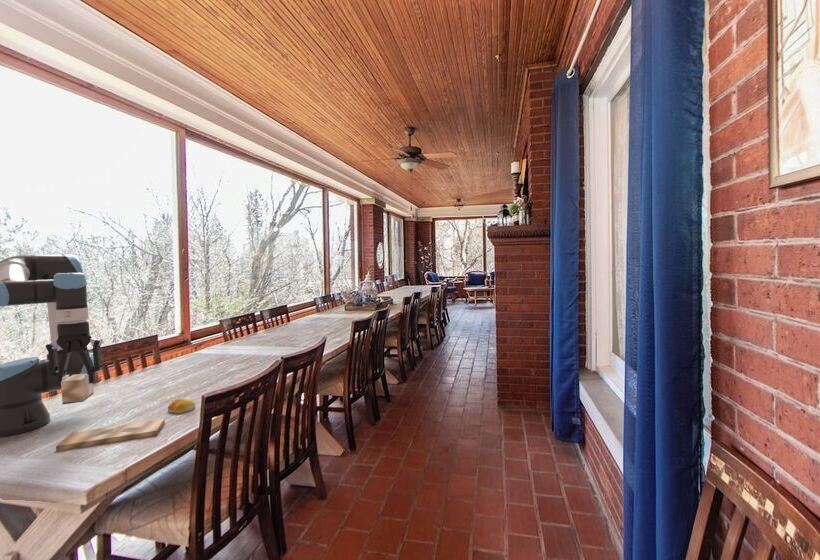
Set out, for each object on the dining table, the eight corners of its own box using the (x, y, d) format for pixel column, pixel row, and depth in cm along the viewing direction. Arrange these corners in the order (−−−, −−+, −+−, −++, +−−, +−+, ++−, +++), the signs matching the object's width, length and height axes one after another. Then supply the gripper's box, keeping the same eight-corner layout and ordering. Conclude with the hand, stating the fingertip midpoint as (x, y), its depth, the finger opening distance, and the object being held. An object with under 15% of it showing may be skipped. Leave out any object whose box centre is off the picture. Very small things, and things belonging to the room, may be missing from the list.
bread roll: (181, 415, 140) (180, 404, 140) (164, 412, 143) (163, 402, 143) (200, 407, 148) (200, 397, 147) (183, 404, 151) (183, 394, 150)
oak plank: (56, 451, 114) (55, 445, 114) (72, 436, 124) (71, 432, 124) (157, 435, 123) (156, 430, 123) (164, 422, 133) (164, 418, 133)
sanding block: (62, 404, 115) (60, 381, 115) (74, 396, 123) (73, 374, 123) (82, 401, 117) (81, 379, 117) (93, 393, 125) (92, 372, 124)
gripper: (29, 326, 112) (35, 403, 113) (103, 321, 119) (108, 394, 120) (42, 322, 119) (48, 395, 120) (112, 318, 126) (117, 387, 127)
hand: (78, 394), depth 120 cm, fingers closed on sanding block, 5 cm apart
